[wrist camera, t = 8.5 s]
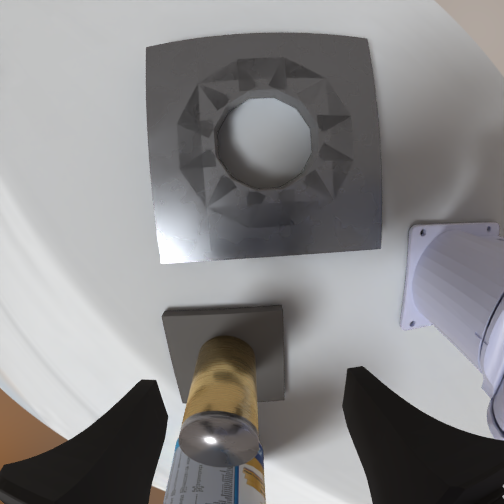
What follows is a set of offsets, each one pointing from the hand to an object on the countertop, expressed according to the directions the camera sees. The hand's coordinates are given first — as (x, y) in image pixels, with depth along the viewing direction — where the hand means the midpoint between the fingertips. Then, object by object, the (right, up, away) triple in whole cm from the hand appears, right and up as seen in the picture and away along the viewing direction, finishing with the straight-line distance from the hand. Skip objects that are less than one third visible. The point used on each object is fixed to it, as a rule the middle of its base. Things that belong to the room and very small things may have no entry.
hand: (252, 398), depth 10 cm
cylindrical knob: (-2, -2, +10) cm, 10 cm away
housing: (+1, +12, +7) cm, 14 cm away
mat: (-2, -2, +11) cm, 11 cm away
